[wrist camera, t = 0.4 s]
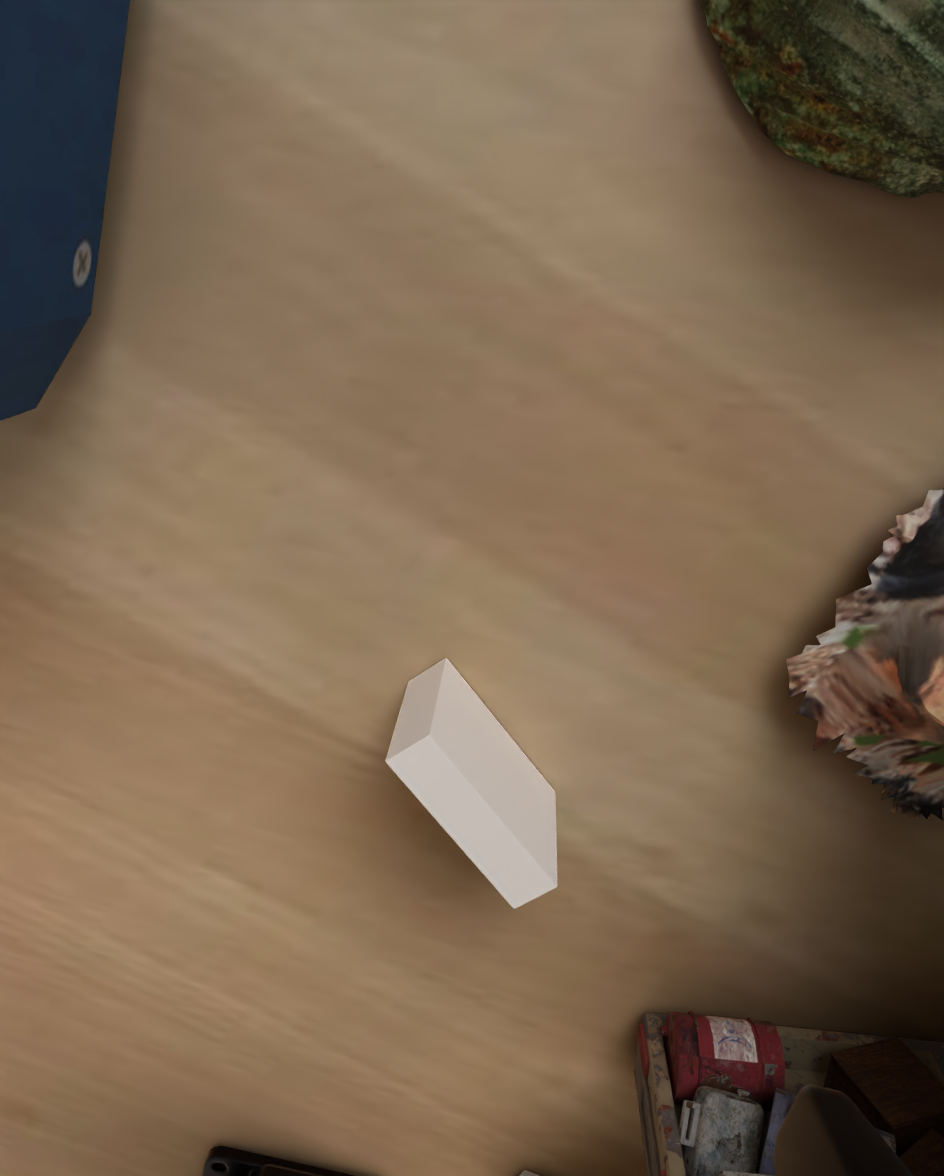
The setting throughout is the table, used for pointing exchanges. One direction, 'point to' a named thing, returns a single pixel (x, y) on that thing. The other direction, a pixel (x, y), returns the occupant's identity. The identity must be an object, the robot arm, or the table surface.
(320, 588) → the table surface
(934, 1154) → the toy vehicle
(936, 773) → the plant with pod
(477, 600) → the table surface
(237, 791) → the table surface
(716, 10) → the seashell
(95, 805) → the table surface
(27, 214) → the radio
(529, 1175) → the screw
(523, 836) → the eraser
